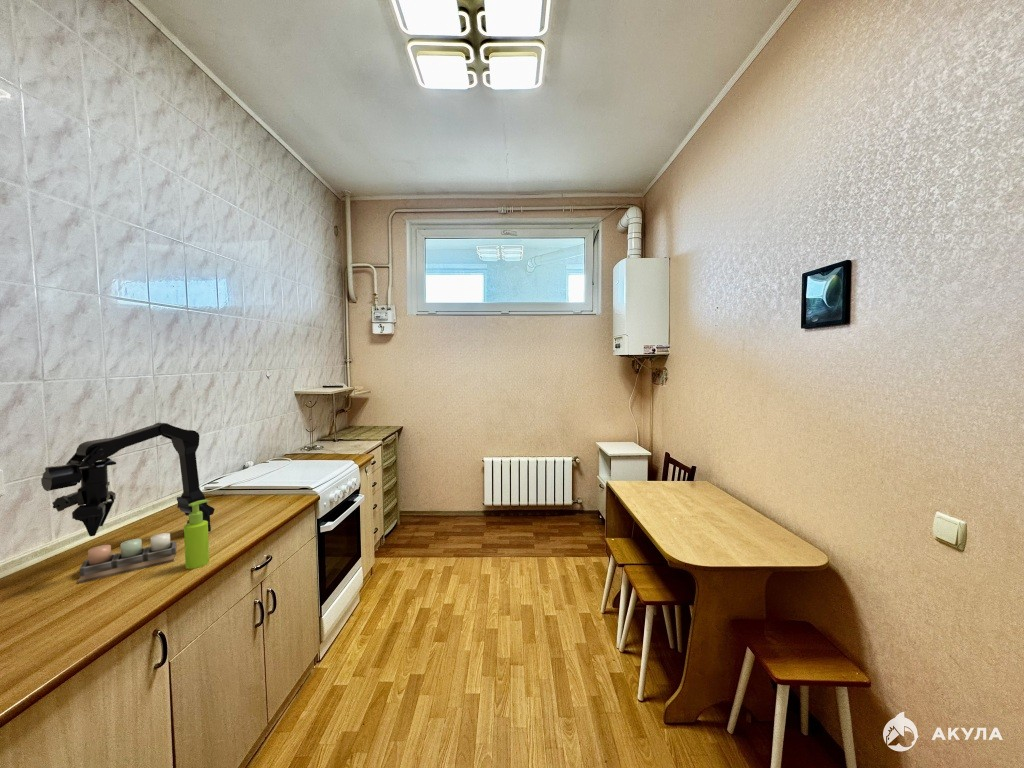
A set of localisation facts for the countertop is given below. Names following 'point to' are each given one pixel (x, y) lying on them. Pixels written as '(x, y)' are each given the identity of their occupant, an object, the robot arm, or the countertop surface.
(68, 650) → the countertop surface
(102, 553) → the pink rounded block
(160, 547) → the white rounded block
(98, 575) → the soap tray
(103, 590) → the countertop surface
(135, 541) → the pale green rounded block
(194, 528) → the soap dispenser
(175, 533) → the countertop surface
